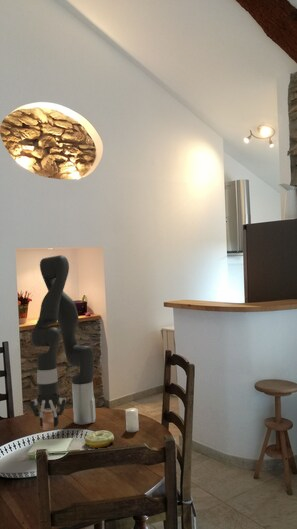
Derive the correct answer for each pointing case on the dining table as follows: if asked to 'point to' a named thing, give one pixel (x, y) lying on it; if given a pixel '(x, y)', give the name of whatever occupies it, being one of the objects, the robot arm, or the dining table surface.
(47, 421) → the terracotta block
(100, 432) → the decorated donut
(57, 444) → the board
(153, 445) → the dining table surface
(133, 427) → the white rounded cylinder
